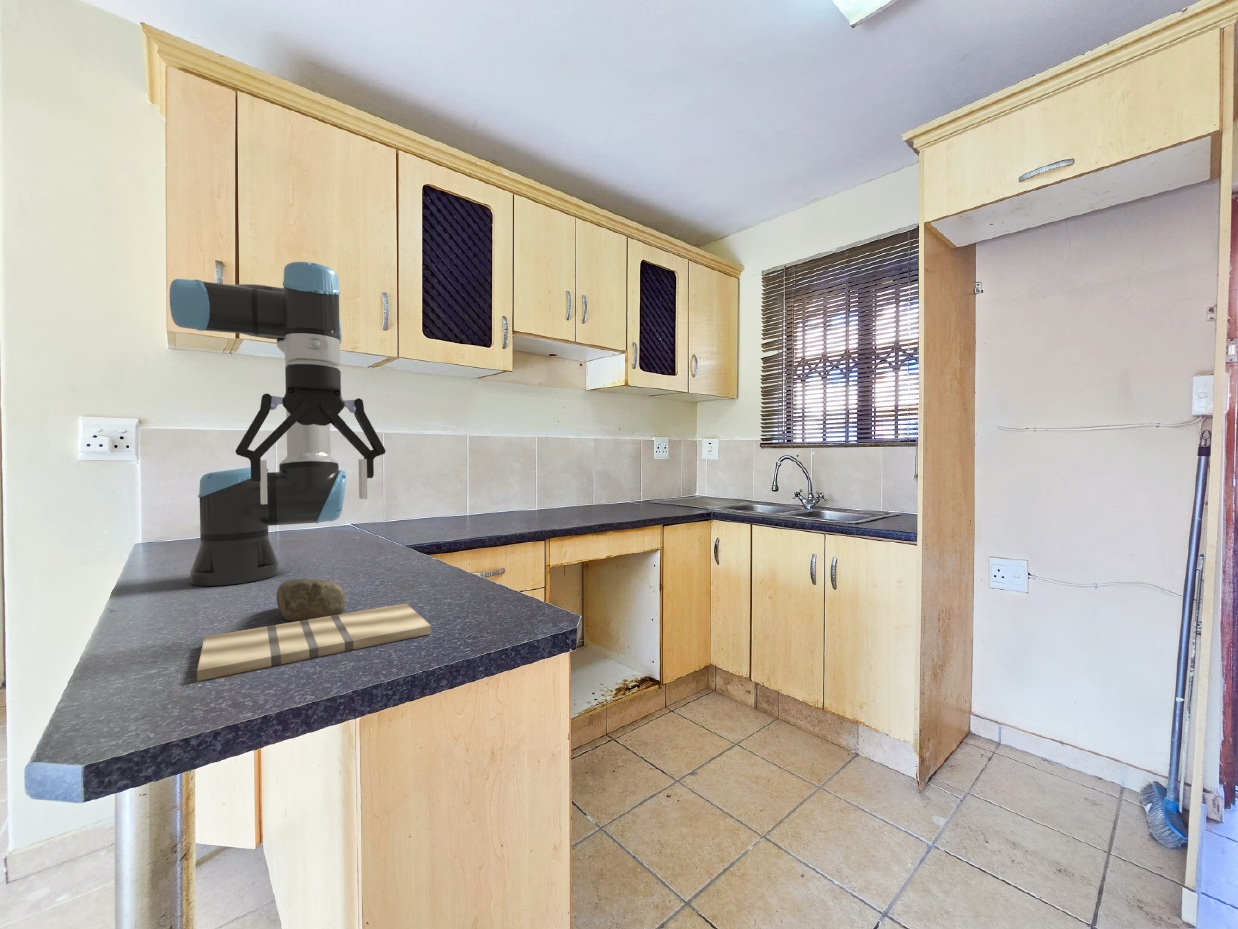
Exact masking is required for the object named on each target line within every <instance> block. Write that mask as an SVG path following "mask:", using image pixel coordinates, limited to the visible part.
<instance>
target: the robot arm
mask: <svg viewBox="0 0 1238 929" xmlns="http://www.w3.org/2000/svg"><path fill="white" fill-rule="evenodd" d="M339 285H340V284H339V276H338V274H337V272H336V271H335V270H334V269H332V268H330V267H328V266H326V265H324V264H319V263H314V262H311V261H293V262H289V263H288V264H286V265H285V266H284V268H283V281H282V286H283V287H276V286H271V285H270V286H269V285H263V284H253V283H251V284H249V283H248V284H246V283H245V284H243V283H241V284H239V283H238V284H230V283H229V284H225V283H217V282H211V281H204V280H199V279H185V278H176V279H173V280H172V281H171V283H170V284H169V296H168V297H169V308H170V315H171V318H172V321H173V323H174V324H175V325H176V326H177V327H179V328H183V329H190V330H195V331H199V332H200V331H201V332H203V331H206V332H219V333H228V334H241V335H245V336H249V337H255V338H263V339H267V340H268V339H269V340H276V347H277V348H278V349H279V350H280V351H281V352H282V353H283V354H284V363H285V367H284V368H285V370H284V371H285V376H284V377H285V381H284V382H285V394H284V396H276V395H271V394H270V393H263V394H262V396H261V398H260V407H259V410H258V412H257V414H256V415H255V416H254V418H253V420H252V422H251V423H250V425H249V427H248V428H247V431H246V432H245V433H244V435H243V437H242V439H241V440H240V442H239V444H238V445H237V448H236V449H235V454H236V455H237V456H239V457H243V458H245V459H248V460H249V461H250V467H243V468H238V469H237V468H235V469H229V470H221V471H213V472H207V473H206V474H204V475H202V476H201V478H200V480H199V493H198V496H197V497H198V499H199V533H200V544H199V545H200V546H199V548H198V550H197V553H196V556H195V558H194V561H193V565H192V567H191V570H190V571H189V572H190V573H189V579H190V582H189V583H190V584H191V585H194V586H199V587H200V586H202V587H211V586H212V587H213V586H216V587H217V586H229V585H237V584H245V583H249V582H251V583H252V582H256V581H260V580H265V579H269V578H272V577H275V576H277V575H279V573H280V566H279V565H280V564H279V560H278V558H277V555H276V553H275V551H274V548H273V546H272V543H271V542H270V537H269V535H270V534H269V527H270V526H284V525H285V526H286V525H301V524H319V523H325V522H326V523H327V522H335V521H336V520H338V519H339V518H340V517H341V515H342V512H343V506H344V501H345V493H346V485H347V472H346V471H345V470H343V469H340V468H339V461H337V460H336V459H335V458H334V457H333V456H332V455H331V454H332V448H331V446H332V445H331V425H332V426H333V427H334V428H335V429H336V430H337V431H338V432H339V433H341V435H342V436H343V437H344V438H345V439H346V440H347V442H349V444H351V445H352V447H354V448H355V450H357V452H359V454H360V455H361V456H362V457H363V458H361V459H360V458H359V459H358V498H359V499H361V500H368V479H373V478H374V474H375V473H374V472H375V471H374V466H375V464H374V461H375V460H374V459H375V458H377V457H380V456H382V455H385V454H386V448H385V447H384V445H383V443H382V441H381V440H380V438H379V436H378V434H377V433H376V432H377V431H376V430H375V428H374V427H373V425H372V423H371V421H370V420H369V418H368V416H367V414H366V412H365V408H364V407H365V406H364V401H363V399H362V398H356V399H348V400H347V399H346V400H345V399H343V397H342V383H341V382H342V381H341V378H342V376H341V375H342V372H341V370H340V369H339V368H338V367H339V366H340V365H341V346H340V345H341V344H342V340H343V339H342V338H343V337H342V335H343V334H342V325H341V318H340V294H341V290H340V286H339ZM279 405H282V407H283V408H284V409H285V412H286V415H285V419H284V421H282V422H281V423H280V425H279V426H278V427H276V428H275V430H274V431H272V432H271V433H270V434H269V435H268V436H267V437H266V438H265V439H264V440H263V441H262V442H261V443H260V444H259V445H258V446H257V447H256V448H255V449H254V450H251V449H249V448H250V446H251V445H252V442H253V441H254V439H255V438H256V437H257V434H258V432H259V431H260V429H261V427H262V426H263V423H264V422H265V420H266V419H267V417H268V415H269V414H270V411H274V410H276V409H277V407H278V406H279ZM344 408H347V410H348V411H349V413H351V414H353V416H354V417H355V420H356V421H357V423H358V425H359V426H360V428H361V430H362V432H363V433H364V436H365V438H366V439H367V441H368V442H369V444H370V446H371V448H372V449H370V447H369V446H368V445H366V443H365V442H364V441H363V440H361V438H360V437H359V436H358V434H356V433H355V431H353V430H352V428H351V427H350V426H349V425H348V424H347V423H346V422H345V420H344V419H343V418H342V417H341V416H340V415H339V414H340V413H341V412H342V411H343V410H344ZM285 434H286V457H285V458H284V459H283V460H282V461H281V462H279V464H278V468H279V470H278V471H277V472H273V471H272V472H269V469H268V468H267V466H268V465H267V464H268V463H267V459H264V460H263V459H262V460H261V458H262V457H263V456H264V455H265V454H266V453H267V452H268V451H269V450H270V448H272V447H273V446H274V445H275V444H276V443H277V442H278V441H279V440H280V438H282V437H283V435H285Z"/></svg>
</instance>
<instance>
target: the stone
mask: <svg viewBox="0 0 1238 929" xmlns="http://www.w3.org/2000/svg"><path fill="white" fill-rule="evenodd" d="M346 602H347V601H346V593H345V591H344V589H343V588H342V587H341V586H340V585H339V584H337V583H335V582H333V581H329V580H321V579H313V578H292V579H287V580H285V581H284V582H282V583H281V584H280V585H279V586H278V588H277V591H276V604H277V607H278V610H279V611H280V613H281V615H282V616H283V617H284V618H285V619H286V620H289V621H291V622H297V621H303V620H309V619H315V618H321V617H327V616H333V615H339V614H343V611H345V607H346Z"/></svg>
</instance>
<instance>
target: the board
mask: <svg viewBox="0 0 1238 929" xmlns="http://www.w3.org/2000/svg"><path fill="white" fill-rule="evenodd" d="M427 635H432V625H431V624H430V623H429V622H428V621H426V619H424V618H423V617H422V616H421V615H420V614H419V613H418V612H417V611H415V610H414V608H412V607H411V606H410V605H409V604H408V603H401V604H395V605H388V606H387V605H386V606H383V607H377V608H371V609H364V610H358V611H353V612H346V613H341V614H339V615H333V616H327V617H321V618H315V619H309V620H303V621H291V622H285V623H279V624H275V625H274V624H273V625H269V626H261V627H255V628H249V629H243V630H238V631H237V630H236V631H230V632H225V633H218V634H212V635H207V636H204V637H203V638H204V639H203V643H202V648H201V652H200V657H199V661H198V665H197V670H196V674H197V676H196V677H197V678H196V680H197V682H200V681H201V682H202V681H206V680H210V679H216V678H220V677H225V676H230V675H236V674H241V673H245V672H249V671H250V672H251V671H255V670H260V669H264V668H265V669H266V668H270V667H273V666H280V665H285V664H290V663H295V662H299V661H305V660H310V659H315V658H319V657H325V656H329V655H334V654H339V653H344V652H348V651H354V650H359V649H364V648H368V647H373V646H378V645H383V644H387V643H393V642H398V641H403V640H408V639H413V638H417V637H422V636H427Z"/></svg>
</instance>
